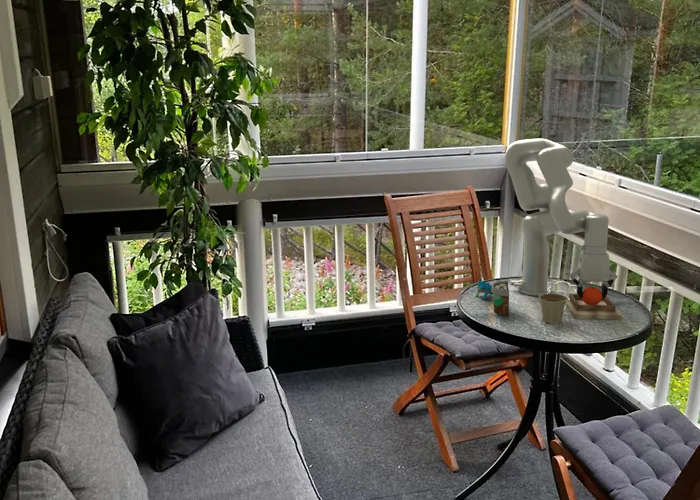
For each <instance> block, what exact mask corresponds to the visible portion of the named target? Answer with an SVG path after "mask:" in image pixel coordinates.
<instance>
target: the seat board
mask: <svg viewBox="0 0 700 500" xmlns="http://www.w3.org/2000/svg"><path fill="white" fill-rule="evenodd" d="M568 296H569V298H570V300H567V301H566V303H567V306H566V307H567V309H568V311H569V312H570V313H571V314H570V315H572V317H573V319H579V320H580V319H583V320H584V319H585V320H586V319H589V320H592V319H593V320H623V314H622V313H621V311H620V309H618V308H617V306H616V305H615V304H614V303H613V301H612V300H611V299H610V298H609V296H608V294H607V295H606V298H603V297H602V299H601V301H600V302H599V303H598V304H596V305H588V304H586V303H585V302H584V301H583V300H582V298H580V297H579V296H578V295H577V293H569V295H568Z"/></svg>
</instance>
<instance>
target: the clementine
mask: <svg viewBox="0 0 700 500" xmlns="http://www.w3.org/2000/svg"><path fill="white" fill-rule="evenodd" d="M601 299H602V290H600V289H599V287H598V286H595V285H592V286H591V285H590V286H586V287H585V288H584V289H583V291H582V300H583V301H584V302H585V303H586V304H588V305H596V304H598V303H599V302H600V301H601Z"/></svg>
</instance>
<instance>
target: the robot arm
mask: <svg viewBox="0 0 700 500" xmlns="http://www.w3.org/2000/svg"><path fill="white" fill-rule="evenodd" d="M573 155H574V154H573V152H572V150H570V149H569V147H567V146H565V145H562V144H559V143H557V142H554V141H552V140H549V139H546V138H542V137H541V138H530V139H529V138H528V139H520V140H517V141H514V142H512V143H510V145H509V146H508V147H507V149H506V151H505V155H504V162H505V167H506V169H507V171H508V174H509V175H510V178H511V181H512V186H513V188H514V191H515V195H516V197H517V198H516V199H517V201H518V204H519V207H520V208H521V210H523V211H534V210H539V211H537V212H533V213H530V214H527V215H526V216H525V217H524V218H523V220H522V223H521V228H522V229H521V232H522V235H523V237H522V238H523V259H522V261H523V263H522V277H520V279H518V280H510V281H509V282H510V283H509V285H510V286H514V287H515V288H517V287H518V289H517V290H518V292H520V293H521V294H524V295H528V296H535V297H537V296H538V297H539V296H540V295H542V294H547V293H548V291H547V286H548V281H549V280H548V278H549V263H550V262H549V261H550V247H549V246H550V245H549V242H548V240H547V236H550V235H555V234H559V233H560V232H561V233H562V234H564V235H572V234H576V233H582V232H584V243H583V245H580V246H579V250H580V251H582V252H581V254H580V256H579V257H580V258H579V262H578V268H577V269H576V270H574V271H572V272H570V273H569V275H568V276H569V278H570V279H571V281H572V282H573V283H574V284H575V285H576V294H577V295H578V296H579V297H580V298H582V292H583V290H584V289H583V284H584V283H586V282H588V283H595V282H596V283H597V282H598V283H602V286H601V293H602V297H603V298H606V295H607V296H608V291H609V289H608V288H609V287H610V286H611V285H612V284H613V283H614V282H615V281H616V279H618V275H617V274H616V273H614V272H613V271H612V270H611V265H610V261H611V260H610V254H609V252H607V250H608V249H607V247H608V237H609V235H608V234H609V221H610V219H609V217H608V216H607V215H604V214H601V213H600V214H599V213H594V212H591V211H588V210H577V211H571V212H570V211H569V208H568V206H567V203H566V195H567V192H568V190H570V189H571V188H572V187H573V185H574V180H573V179H572V177H571V174H570V173H569V170H568V168H569V167H570V166H571V165H572V164H573V162H574V156H573ZM535 161H536V164H537V167H538V168H539V170H540V172H541V174H542V177H543V178H544V181H545V182H546V183H540V184H539V183H537V180H536V177H535V173H534V172H533V170H532V169H531V168H530V166H528V164H527V163H528V162H535ZM576 276H577V277H578V279H577V278H576Z"/></svg>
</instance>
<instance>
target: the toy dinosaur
mask: <svg viewBox="0 0 700 500" xmlns="http://www.w3.org/2000/svg"><path fill="white" fill-rule="evenodd" d="M476 284H477V285H476V289H477V292H476V294H475V297H478V296H479V294H480V293H481V294H482V293H483V294H484V295H483V296H482V298H481V299H482V300H484V301H485V300H486V297H487V296H488V295H490V296H493V292H492V291H491V289H492V286H493V284H490V282H488V281H486V282H485V281H484V280H478V282H477V283H476Z"/></svg>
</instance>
